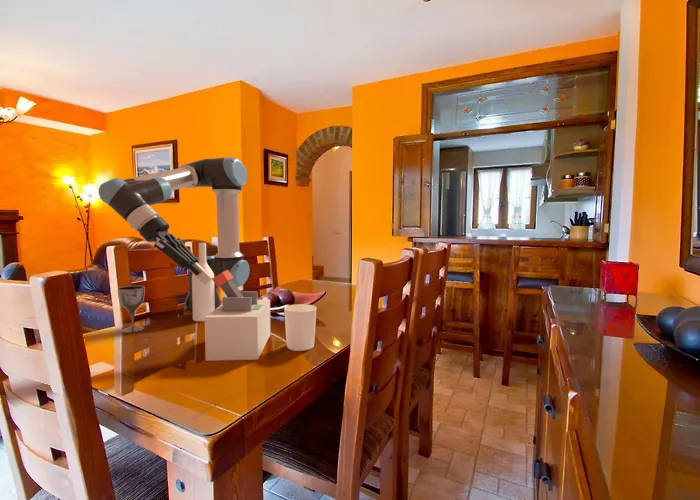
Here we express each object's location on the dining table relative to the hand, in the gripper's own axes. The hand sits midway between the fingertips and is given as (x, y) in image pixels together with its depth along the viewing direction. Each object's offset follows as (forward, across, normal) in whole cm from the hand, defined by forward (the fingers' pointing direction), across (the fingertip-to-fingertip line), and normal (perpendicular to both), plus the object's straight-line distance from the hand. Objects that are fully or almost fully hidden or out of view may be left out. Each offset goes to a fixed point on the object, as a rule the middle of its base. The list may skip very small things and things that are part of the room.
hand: (208, 281), depth 102 cm
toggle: (+12, -1, +2) cm, 12 cm away
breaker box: (+21, -1, -8) cm, 22 cm away
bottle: (+5, -33, -24) cm, 41 cm away
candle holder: (+34, 0, +5) cm, 34 cm away
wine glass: (-9, -19, -38) cm, 43 cm away
